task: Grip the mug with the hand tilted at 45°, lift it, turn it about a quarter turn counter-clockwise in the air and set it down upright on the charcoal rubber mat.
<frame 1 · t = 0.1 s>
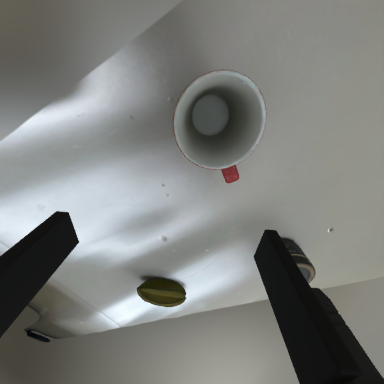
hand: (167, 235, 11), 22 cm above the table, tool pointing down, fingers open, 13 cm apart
mug: (212, 125, 29), on the table
jar: (277, 249, 43), on the table
fruit: (165, 281, 52), on the table
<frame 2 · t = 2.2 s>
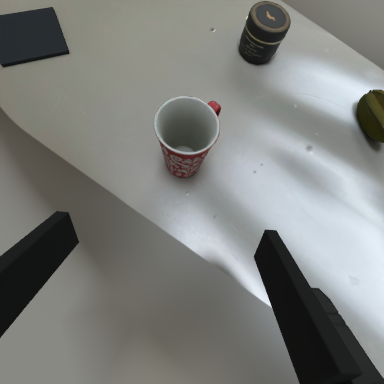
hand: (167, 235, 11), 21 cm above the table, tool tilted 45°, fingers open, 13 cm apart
mug: (188, 157, 36), on the table
jar: (254, 52, 44), on the table
mat: (30, 36, 38), on the table
fruit: (364, 125, 43), on the table
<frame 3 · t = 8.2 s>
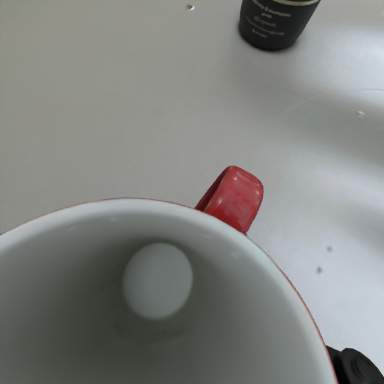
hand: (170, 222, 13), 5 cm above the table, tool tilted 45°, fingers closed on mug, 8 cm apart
mug: (170, 260, 16), on the table, touching gripper
jar: (266, 32, 26), on the table
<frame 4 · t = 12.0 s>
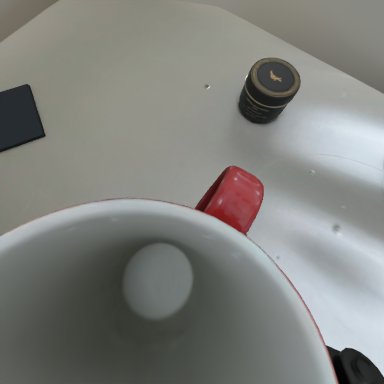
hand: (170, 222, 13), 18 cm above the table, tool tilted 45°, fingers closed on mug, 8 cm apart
mug: (170, 260, 16), point 14 cm above the table, touching gripper
jar: (257, 107, 38), on the table
mat: (2, 121, 34), on the table
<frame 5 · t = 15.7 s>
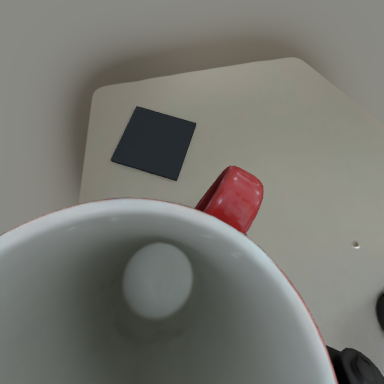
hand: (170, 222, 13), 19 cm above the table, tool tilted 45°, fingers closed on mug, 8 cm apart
mug: (170, 260, 16), point 14 cm above the table, touching gripper
mat: (155, 142, 35), on the table
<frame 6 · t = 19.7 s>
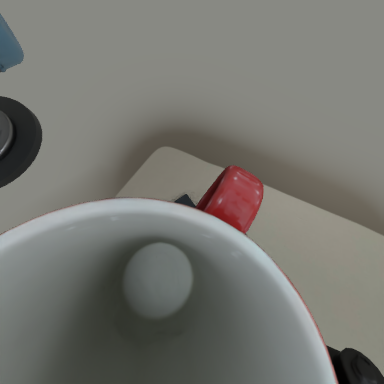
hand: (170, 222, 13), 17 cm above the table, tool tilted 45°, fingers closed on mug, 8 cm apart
mug: (170, 260, 16), point 12 cm above the table, touching gripper
when the fingers open (5 cm above the table, at t = 23.3 s): mug stays where it is, resting on mat.
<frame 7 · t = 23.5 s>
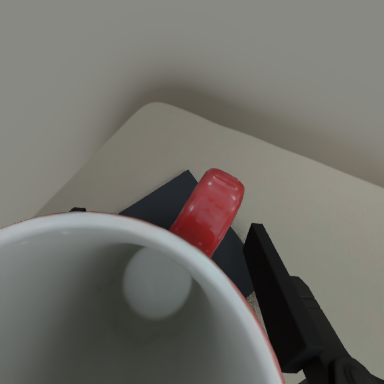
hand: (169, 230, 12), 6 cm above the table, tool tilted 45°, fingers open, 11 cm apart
mug: (171, 261, 16), resting on mat
mat: (171, 259, 17), on the table
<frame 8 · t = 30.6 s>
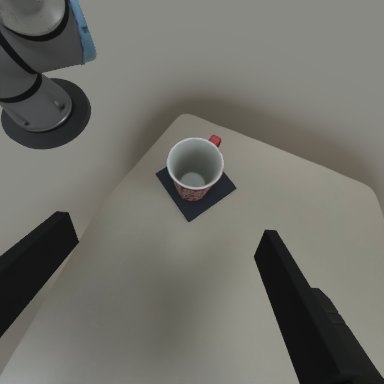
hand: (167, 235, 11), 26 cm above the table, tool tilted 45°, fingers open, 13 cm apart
mug: (196, 181, 39), resting on mat
mat: (195, 181, 40), on the table
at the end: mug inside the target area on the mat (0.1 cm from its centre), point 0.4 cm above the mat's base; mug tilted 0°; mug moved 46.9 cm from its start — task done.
